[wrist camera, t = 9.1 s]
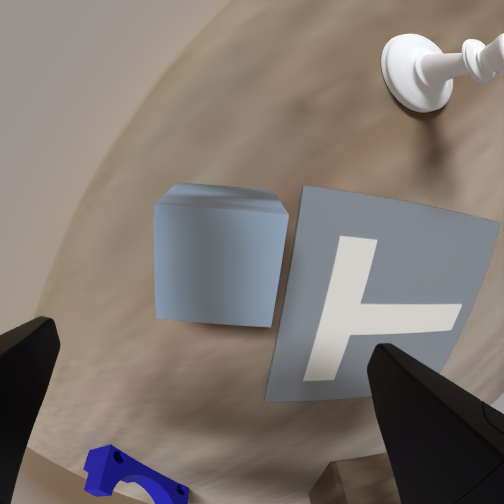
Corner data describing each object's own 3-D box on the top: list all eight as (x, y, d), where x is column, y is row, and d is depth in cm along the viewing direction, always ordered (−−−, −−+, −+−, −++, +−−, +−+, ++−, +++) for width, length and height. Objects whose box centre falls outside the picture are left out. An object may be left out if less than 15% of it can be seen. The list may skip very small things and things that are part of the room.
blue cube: (272, 190, 16) (288, 215, 11) (261, 276, 18) (270, 327, 13) (177, 182, 15) (153, 204, 11) (175, 269, 17) (156, 318, 13)
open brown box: (403, 448, 28) (424, 498, 20) (373, 482, 31) (386, 525, 24) (330, 462, 27) (345, 520, 20) (308, 493, 31) (318, 541, 23)
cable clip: (89, 449, 25) (77, 490, 20) (111, 443, 24) (99, 489, 19) (164, 491, 29) (160, 528, 24) (188, 486, 28) (186, 526, 23)
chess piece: (407, 21, 12) (526, -27, 3) (458, 80, 13) (584, 79, 4) (364, 66, 13) (496, 22, 4) (421, 129, 15) (561, 150, 5)
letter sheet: (498, 222, 17) (501, 223, 17) (430, 385, 23) (432, 387, 23) (302, 184, 16) (304, 186, 15) (263, 398, 22) (264, 402, 21)
